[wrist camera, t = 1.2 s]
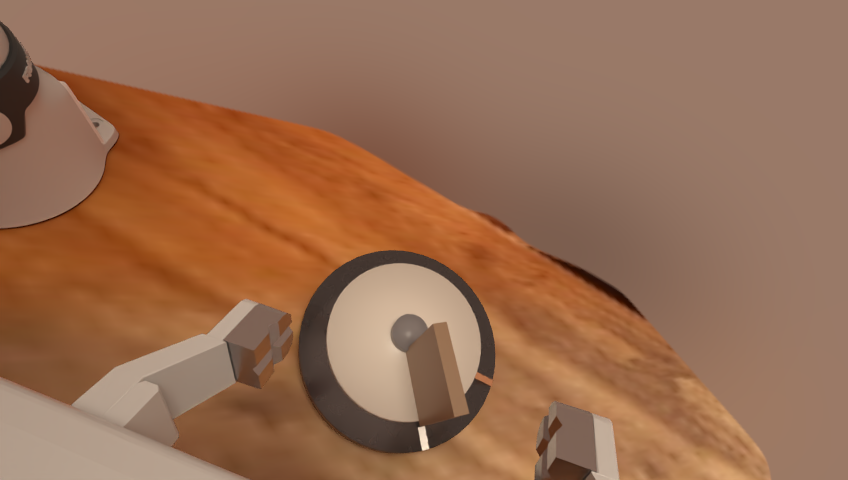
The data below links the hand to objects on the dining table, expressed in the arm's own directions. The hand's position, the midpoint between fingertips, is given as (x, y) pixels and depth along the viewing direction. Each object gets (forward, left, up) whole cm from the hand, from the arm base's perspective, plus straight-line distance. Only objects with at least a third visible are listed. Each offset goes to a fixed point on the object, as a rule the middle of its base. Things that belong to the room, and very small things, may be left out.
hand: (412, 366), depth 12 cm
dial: (-1, +11, -28) cm, 30 cm away
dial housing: (-1, +11, -30) cm, 32 cm away
